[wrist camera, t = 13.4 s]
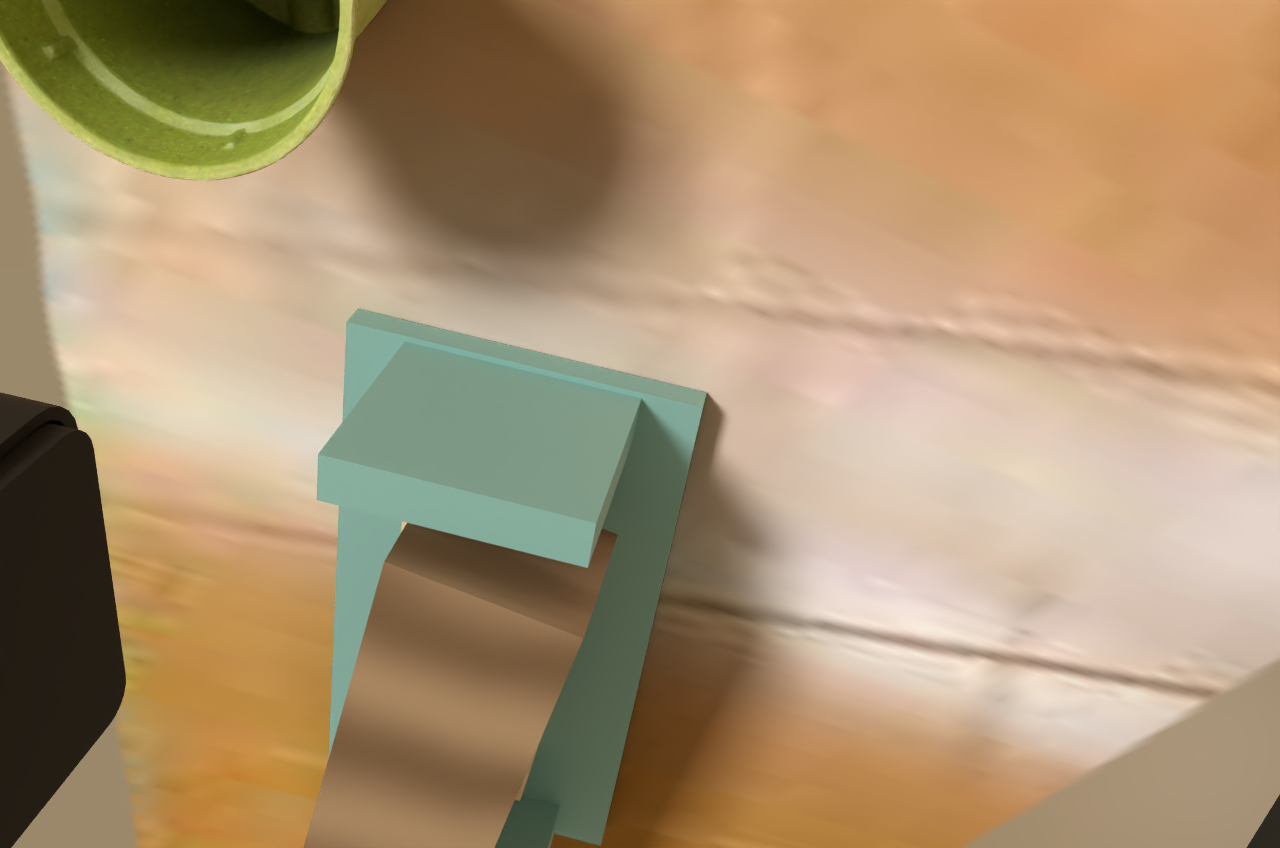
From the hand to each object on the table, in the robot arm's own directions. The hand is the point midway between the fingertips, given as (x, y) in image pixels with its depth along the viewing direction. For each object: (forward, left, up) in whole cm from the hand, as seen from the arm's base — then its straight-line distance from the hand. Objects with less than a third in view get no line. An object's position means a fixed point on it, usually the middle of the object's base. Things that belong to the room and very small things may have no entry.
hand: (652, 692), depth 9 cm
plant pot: (+15, +1, -28) cm, 31 cm away
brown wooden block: (+6, +24, -23) cm, 34 cm away
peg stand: (+7, +24, -27) cm, 37 cm away
